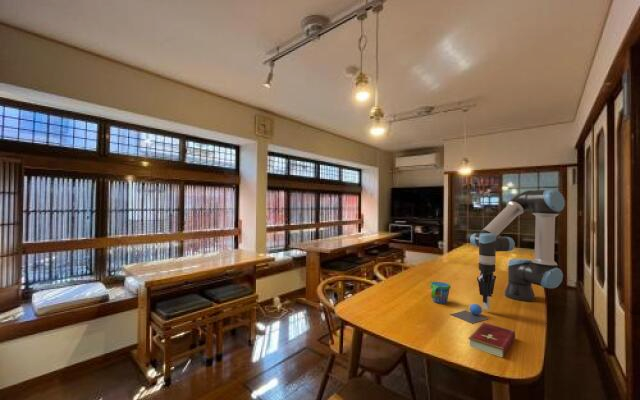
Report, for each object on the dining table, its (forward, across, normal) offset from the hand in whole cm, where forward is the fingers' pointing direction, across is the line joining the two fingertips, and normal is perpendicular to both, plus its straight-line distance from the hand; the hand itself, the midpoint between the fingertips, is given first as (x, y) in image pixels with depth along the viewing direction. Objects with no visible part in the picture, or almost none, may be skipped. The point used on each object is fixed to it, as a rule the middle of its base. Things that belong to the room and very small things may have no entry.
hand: (486, 308), depth 148 cm
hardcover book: (+3, +29, +21) cm, 36 cm away
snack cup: (+2, +9, -21) cm, 23 cm away
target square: (+2, +14, 0) cm, 14 cm away
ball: (-1, +8, 0) cm, 9 cm away
